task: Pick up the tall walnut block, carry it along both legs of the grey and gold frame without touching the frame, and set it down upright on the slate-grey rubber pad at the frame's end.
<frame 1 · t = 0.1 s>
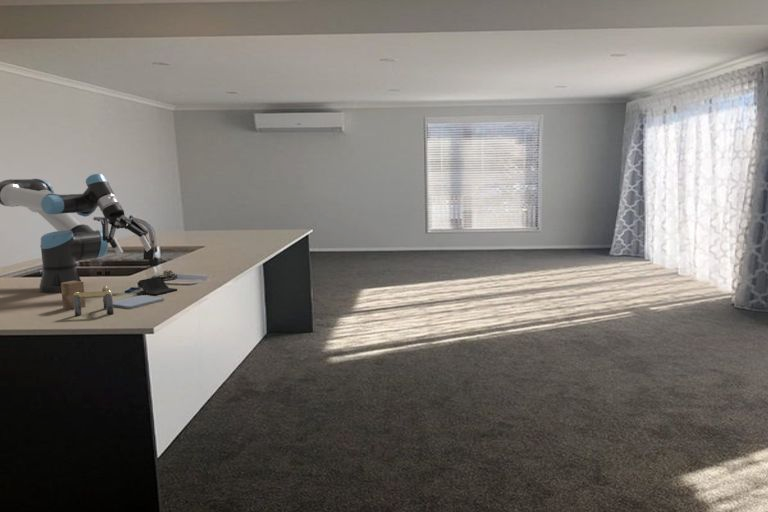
hand: (135, 251, 238), 15 cm above the table, tool tilted 35°, fingers open, 13 cm apart
grey and gold frame: (100, 312, 200), on the table
handheld gaming console: (158, 293, 234), on the table
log: (164, 280, 263), on the table
walnut block: (74, 307, 209), on the table
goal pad: (135, 302, 215), on the table
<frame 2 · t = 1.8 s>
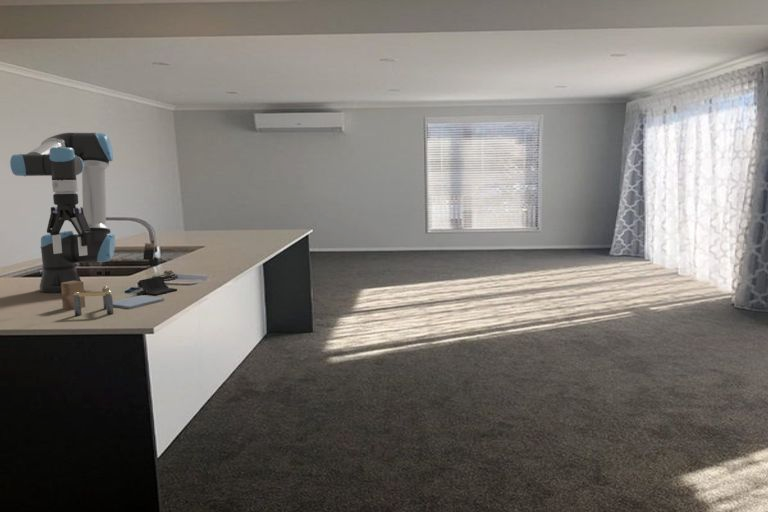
hand: (70, 254, 206), 19 cm above the table, tool pointing down, fingers open, 13 cm apart
nothing on the table moved.
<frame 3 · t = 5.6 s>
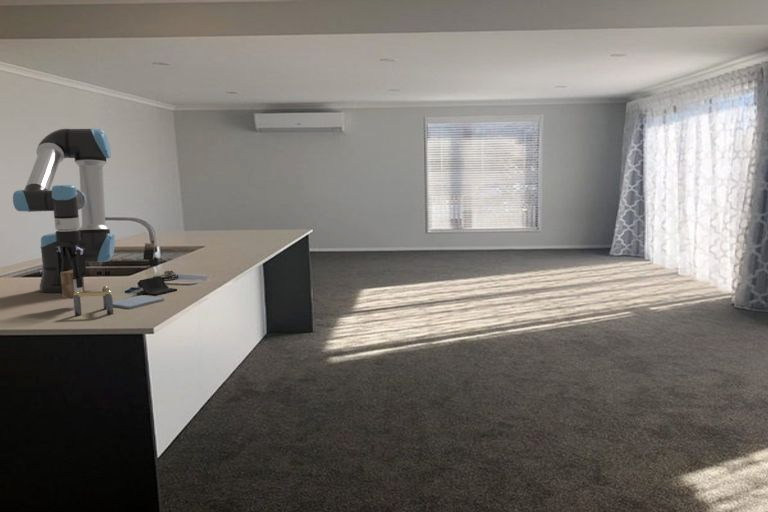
hand: (73, 295, 209), 4 cm above the table, tool pointing down, fingers closed on walnut block, 5 cm apart
walnut block: (73, 296, 209), point 4 cm above the table, touching gripper
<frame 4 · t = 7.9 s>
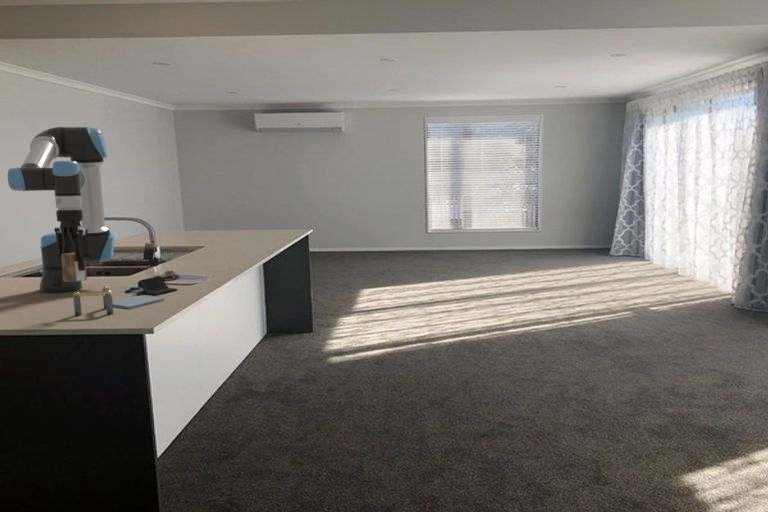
hand: (75, 279, 196), 12 cm above the table, tool pointing down, fingers closed on walnut block, 5 cm apart
walnut block: (75, 280, 196), point 12 cm above the table, touching gripper
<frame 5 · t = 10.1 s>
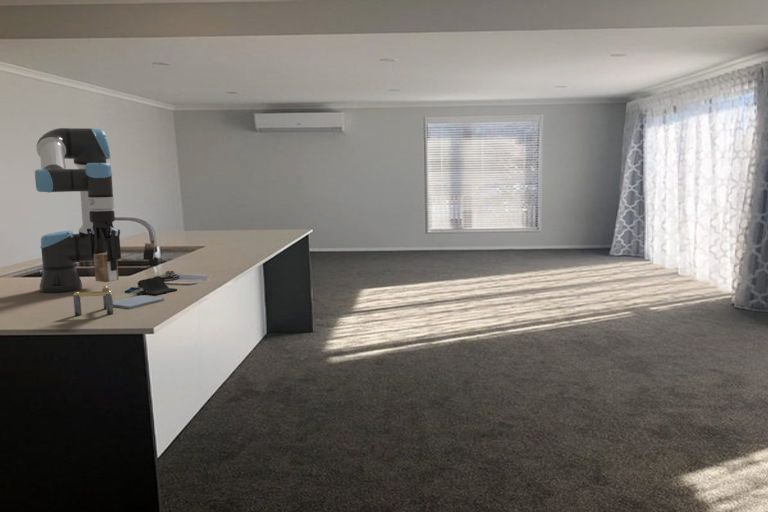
hand: (106, 279, 199), 11 cm above the table, tool pointing down, fingers closed on walnut block, 5 cm apart
walnut block: (107, 280, 199), point 11 cm above the table, touching gripper
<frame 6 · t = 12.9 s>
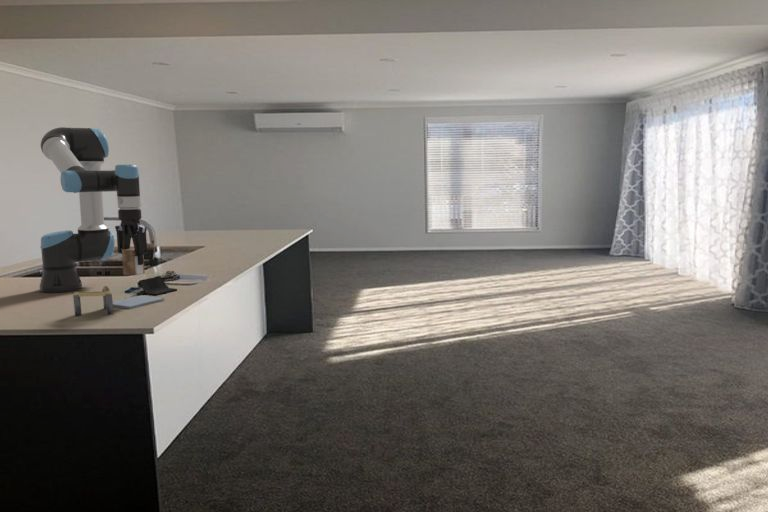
hand: (134, 273, 214), 11 cm above the table, tool pointing down, fingers closed on walnut block, 5 cm apart
walnut block: (134, 274, 214), point 11 cm above the table, touching gripper
when the fingers open (2 cm above the table, at t = 15.1 s): walnut block stays where it is, resting on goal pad.
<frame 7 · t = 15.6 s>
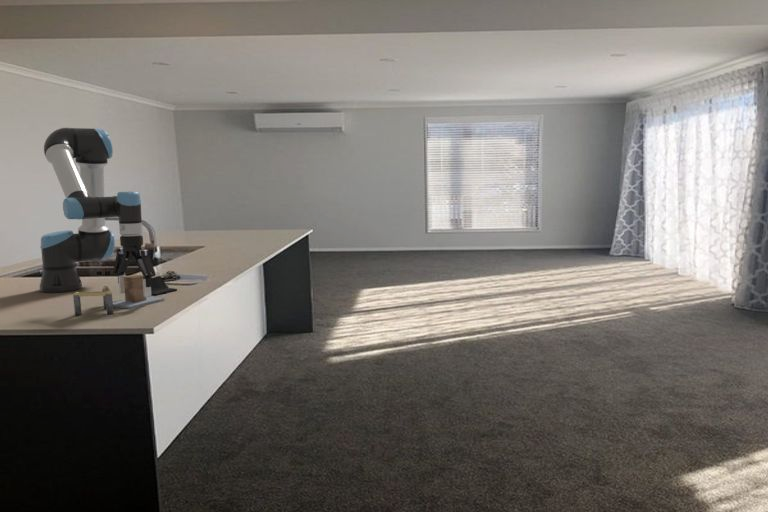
hand: (135, 294, 215), 3 cm above the table, tool pointing down, fingers open, 12 cm apart
walnut block: (135, 300, 215), point 1 cm above the table, touching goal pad
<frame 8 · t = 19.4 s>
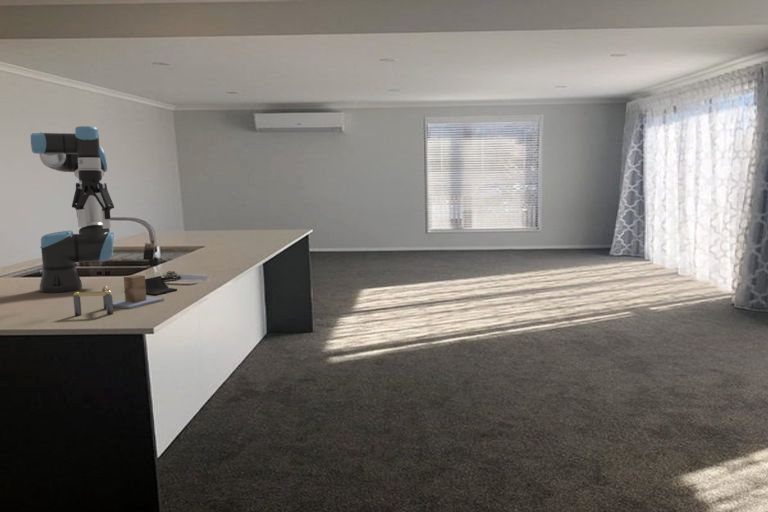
hand: (94, 227, 220), 27 cm above the table, tool pointing down, fingers open, 13 cm apart
at the end: walnut block 0.1 cm off-centre on the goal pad, point 0.8 cm above the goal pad's base; walnut block tilted 0°; walnut block touching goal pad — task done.
